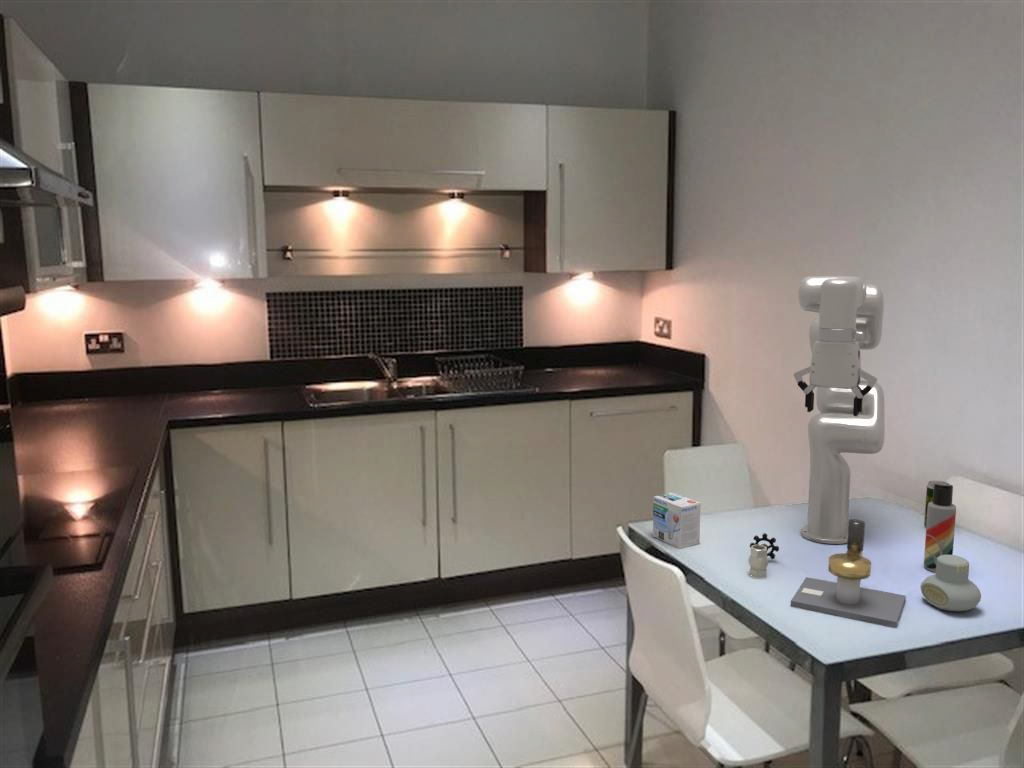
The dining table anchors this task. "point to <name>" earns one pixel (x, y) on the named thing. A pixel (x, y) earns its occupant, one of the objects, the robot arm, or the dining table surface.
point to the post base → (849, 601)
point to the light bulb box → (676, 520)
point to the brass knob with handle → (852, 555)
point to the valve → (761, 555)
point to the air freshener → (951, 585)
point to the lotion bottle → (939, 526)
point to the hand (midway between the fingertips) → (832, 412)
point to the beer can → (930, 495)
